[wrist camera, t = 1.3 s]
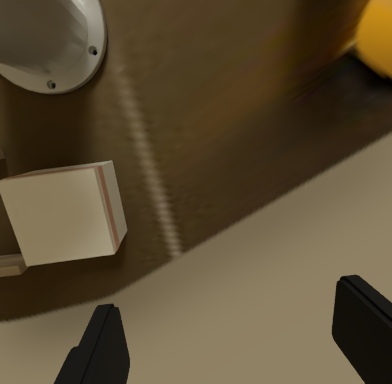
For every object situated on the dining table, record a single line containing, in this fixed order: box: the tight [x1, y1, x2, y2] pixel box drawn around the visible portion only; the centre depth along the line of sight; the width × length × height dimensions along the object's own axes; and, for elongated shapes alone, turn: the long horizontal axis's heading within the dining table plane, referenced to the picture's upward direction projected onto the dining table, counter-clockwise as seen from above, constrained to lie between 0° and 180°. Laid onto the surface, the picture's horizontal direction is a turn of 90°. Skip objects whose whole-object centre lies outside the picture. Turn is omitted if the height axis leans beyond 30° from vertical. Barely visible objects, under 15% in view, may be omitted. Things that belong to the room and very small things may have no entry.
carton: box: [0, 161, 127, 266], centre depth 25 cm, size 9×9×6 cm
